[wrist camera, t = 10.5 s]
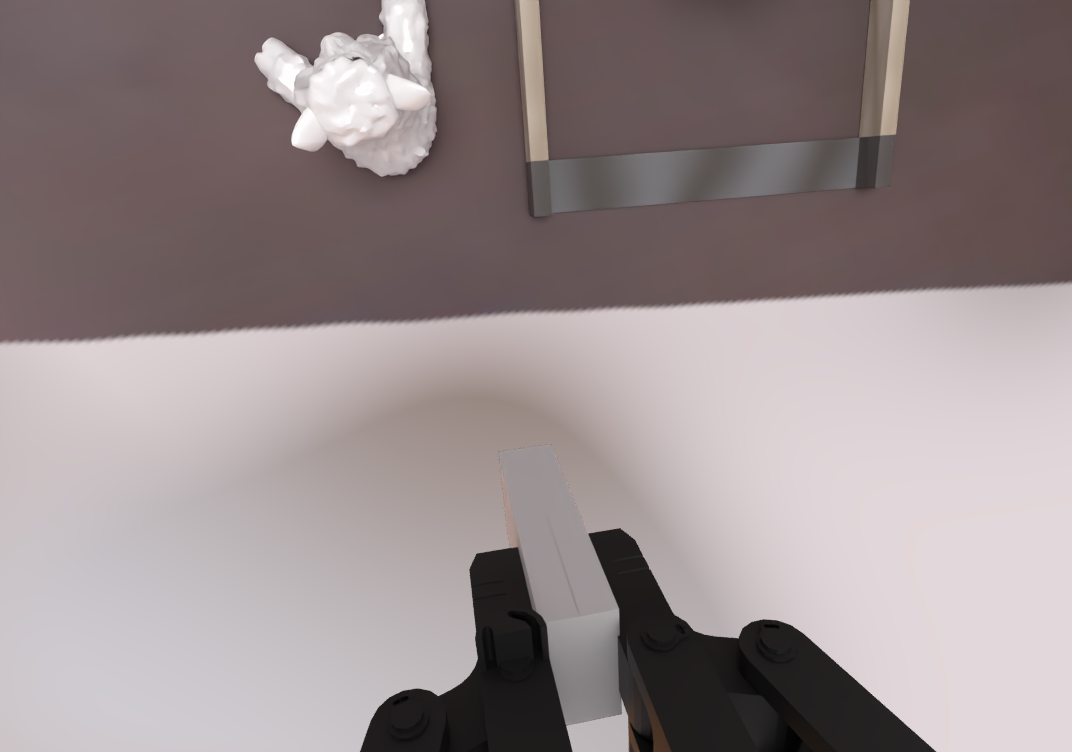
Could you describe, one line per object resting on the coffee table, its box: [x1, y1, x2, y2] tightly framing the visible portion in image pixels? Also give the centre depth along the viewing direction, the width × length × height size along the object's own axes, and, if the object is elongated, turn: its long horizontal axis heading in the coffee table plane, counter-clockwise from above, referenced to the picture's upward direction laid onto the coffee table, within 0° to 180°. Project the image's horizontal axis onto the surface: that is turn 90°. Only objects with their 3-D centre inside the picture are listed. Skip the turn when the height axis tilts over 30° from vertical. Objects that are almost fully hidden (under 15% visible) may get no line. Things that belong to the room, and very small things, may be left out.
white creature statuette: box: [255, 0, 437, 177], centre depth 28 cm, size 10×9×12 cm
